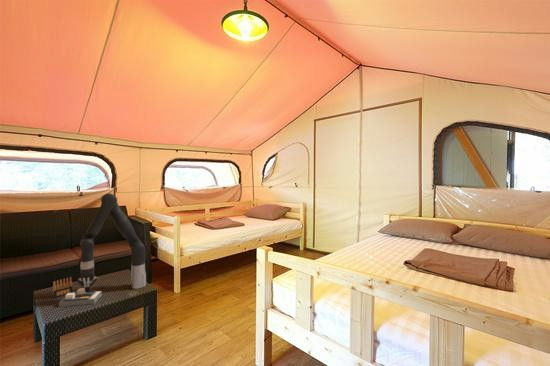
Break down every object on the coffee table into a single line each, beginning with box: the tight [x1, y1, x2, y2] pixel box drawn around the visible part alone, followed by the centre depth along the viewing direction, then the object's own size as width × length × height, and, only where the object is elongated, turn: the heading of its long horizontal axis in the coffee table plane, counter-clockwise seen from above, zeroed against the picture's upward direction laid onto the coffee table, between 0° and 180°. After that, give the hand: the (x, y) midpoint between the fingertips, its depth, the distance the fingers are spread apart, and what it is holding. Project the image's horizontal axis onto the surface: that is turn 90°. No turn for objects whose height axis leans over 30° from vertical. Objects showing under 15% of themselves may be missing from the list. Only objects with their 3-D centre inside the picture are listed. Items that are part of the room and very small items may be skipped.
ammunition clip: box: [52, 276, 74, 299], centre depth 180 cm, size 11×2×12 cm, turn 138°
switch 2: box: [76, 287, 86, 295], centre depth 176 cm, size 4×3×3 cm
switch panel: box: [58, 289, 103, 308], centre depth 174 cm, size 20×12×4 cm, turn 103°
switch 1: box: [64, 293, 75, 300], centre depth 169 cm, size 4×3×3 cm
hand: (87, 291), depth 177 cm, fingers closed
